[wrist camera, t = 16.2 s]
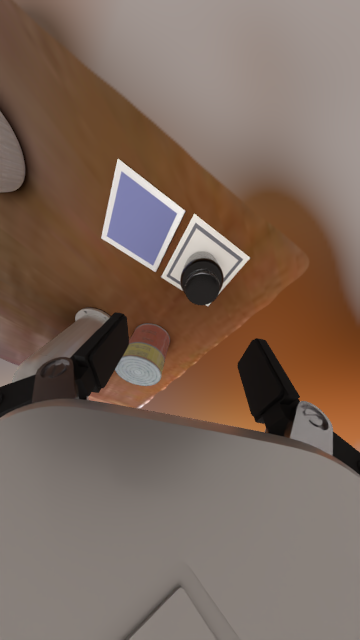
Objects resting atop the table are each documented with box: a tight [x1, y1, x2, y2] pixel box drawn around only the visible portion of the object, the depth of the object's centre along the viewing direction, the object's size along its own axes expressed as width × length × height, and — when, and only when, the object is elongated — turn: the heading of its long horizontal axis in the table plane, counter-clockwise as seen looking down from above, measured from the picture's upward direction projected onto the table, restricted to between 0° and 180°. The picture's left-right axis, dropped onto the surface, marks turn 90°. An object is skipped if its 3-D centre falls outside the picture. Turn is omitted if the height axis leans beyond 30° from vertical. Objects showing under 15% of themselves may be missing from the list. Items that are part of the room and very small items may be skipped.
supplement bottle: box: [180, 251, 224, 305], centre depth 23 cm, size 7×7×12 cm
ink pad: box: [101, 159, 186, 272], centre depth 25 cm, size 12×12×1 cm
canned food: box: [115, 324, 170, 386], centre depth 37 cm, size 11×11×12 cm
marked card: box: [161, 214, 250, 306], centre depth 28 cm, size 13×13×1 cm
